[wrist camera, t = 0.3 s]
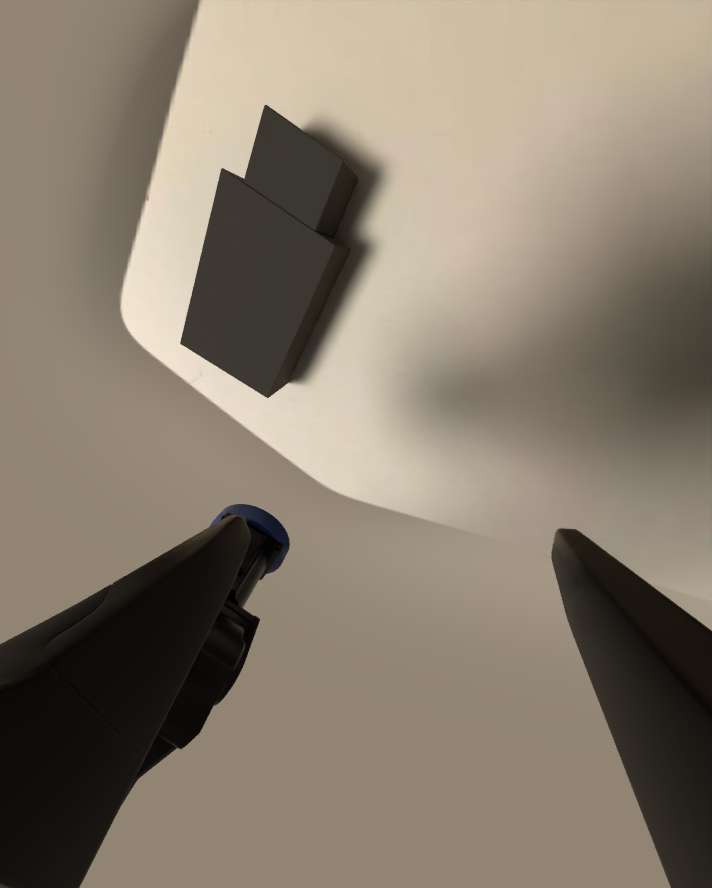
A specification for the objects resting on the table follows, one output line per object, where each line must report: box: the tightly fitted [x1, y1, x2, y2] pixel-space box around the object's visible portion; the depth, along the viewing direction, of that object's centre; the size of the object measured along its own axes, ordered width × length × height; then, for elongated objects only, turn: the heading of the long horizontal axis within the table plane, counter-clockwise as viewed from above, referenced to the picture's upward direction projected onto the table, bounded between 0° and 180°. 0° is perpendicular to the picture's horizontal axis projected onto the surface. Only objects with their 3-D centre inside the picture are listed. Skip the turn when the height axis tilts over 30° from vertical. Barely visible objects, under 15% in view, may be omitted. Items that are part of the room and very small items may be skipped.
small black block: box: [180, 105, 358, 398], centre depth 17 cm, size 6×12×3 cm, turn 150°
